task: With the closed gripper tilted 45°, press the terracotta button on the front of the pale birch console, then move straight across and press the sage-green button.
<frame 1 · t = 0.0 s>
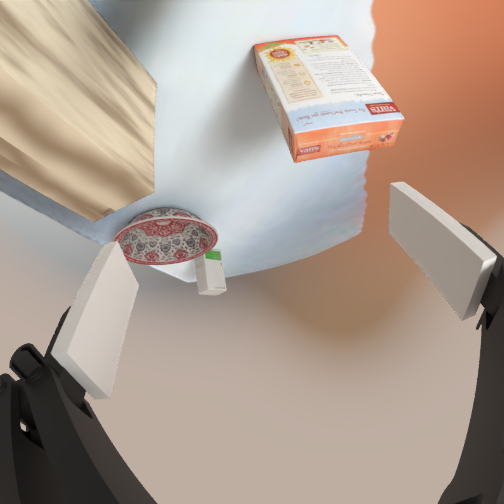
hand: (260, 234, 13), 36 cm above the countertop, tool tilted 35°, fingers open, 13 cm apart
skincare box: (206, 251, 107), on the countertop
console: (69, 32, 25), on the countertop
ceramic bowl: (163, 218, 79), on the countertop
cracker box: (297, 51, 38), on the countertop
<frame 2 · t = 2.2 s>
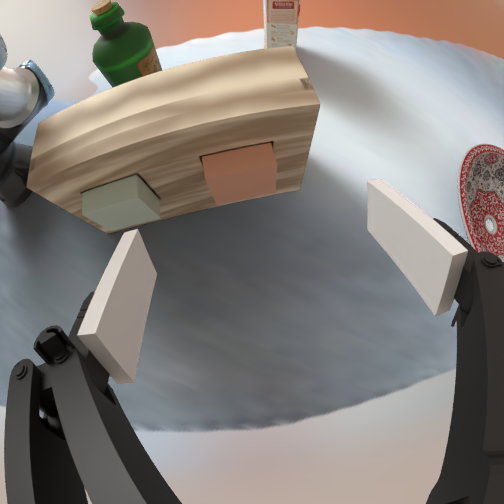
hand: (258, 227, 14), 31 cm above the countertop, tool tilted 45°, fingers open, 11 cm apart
terracotta button: (241, 175, 35), point 12 cm above the countertop, slide at 0.0 cm
sage button: (122, 205, 35), point 12 cm above the countertop, slide at 0.0 cm
console: (194, 184, 48), on the countertop
ceramic bowl: (488, 225, 44), on the countertop
bottle: (153, 106, 53), on the countertop
cracker box: (278, 60, 54), on the countertop
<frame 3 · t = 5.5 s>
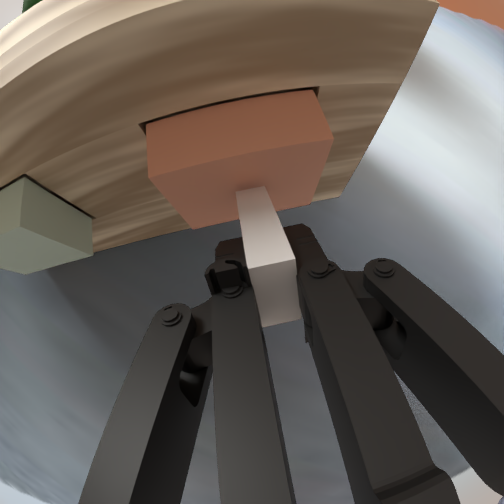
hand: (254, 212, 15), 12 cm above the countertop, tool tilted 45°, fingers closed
terracotta button: (242, 168, 16), point 12 cm above the countertop, slide at 0.1 cm, touching gripper
sage button: (23, 236, 16), point 12 cm above the countertop, slide at 0.0 cm
console: (164, 187, 29), on the countertop
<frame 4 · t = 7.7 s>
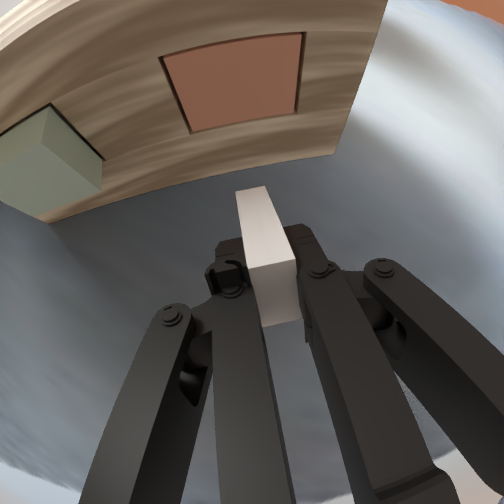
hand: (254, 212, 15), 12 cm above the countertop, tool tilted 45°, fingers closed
terracotta button: (235, 72, 17), point 12 cm above the countertop, slide at 3.1 cm
sage button: (37, 170, 17), point 12 cm above the countertop, slide at 0.0 cm
console: (169, 146, 30), on the countertop
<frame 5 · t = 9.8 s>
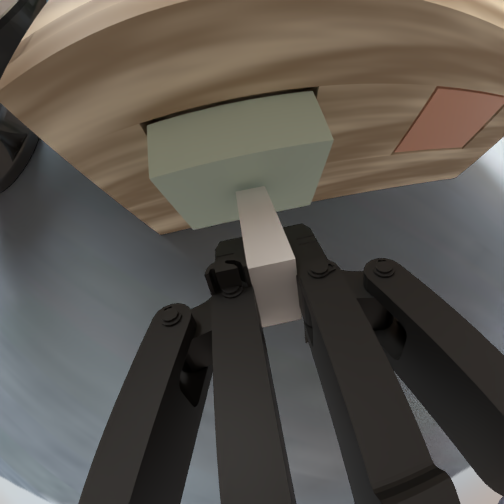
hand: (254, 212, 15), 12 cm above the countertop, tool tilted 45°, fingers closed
terracotta button: (444, 108, 16), point 12 cm above the countertop, slide at 3.1 cm
sage button: (242, 169, 16), point 12 cm above the countertop, slide at 0.0 cm, touching gripper
console: (315, 155, 29), on the countertop
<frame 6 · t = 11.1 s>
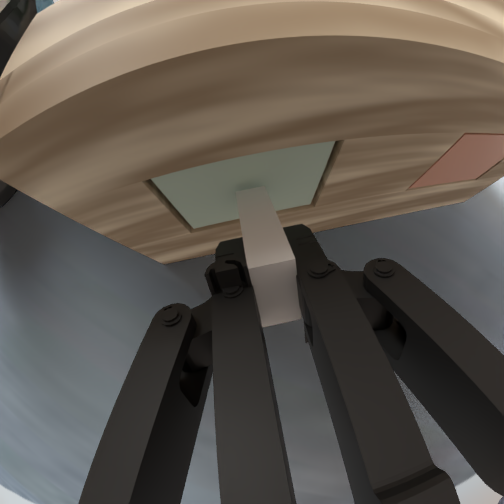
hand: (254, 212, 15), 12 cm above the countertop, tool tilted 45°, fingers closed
terracotta button: (463, 143, 16), point 12 cm above the countertop, slide at 3.1 cm
sage button: (243, 168, 16), point 12 cm above the countertop, slide at 3.2 cm, touching gripper
console: (324, 180, 28), on the countertop
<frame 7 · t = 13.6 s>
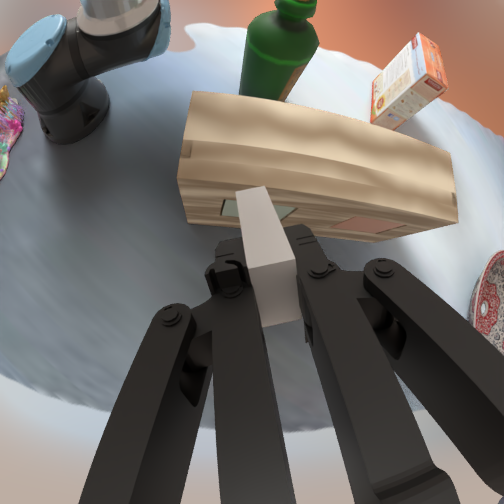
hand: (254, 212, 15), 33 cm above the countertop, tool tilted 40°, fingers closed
terracotta button: (366, 215, 39), point 12 cm above the countertop, slide at 3.1 cm
sage button: (256, 200, 37), point 12 cm above the countertop, slide at 3.1 cm
console: (290, 204, 50), on the countertop
ceramic bowl: (482, 308, 57), on the countertop
bottle: (260, 100, 51), on the countertop
cracker box: (381, 106, 57), on the countertop
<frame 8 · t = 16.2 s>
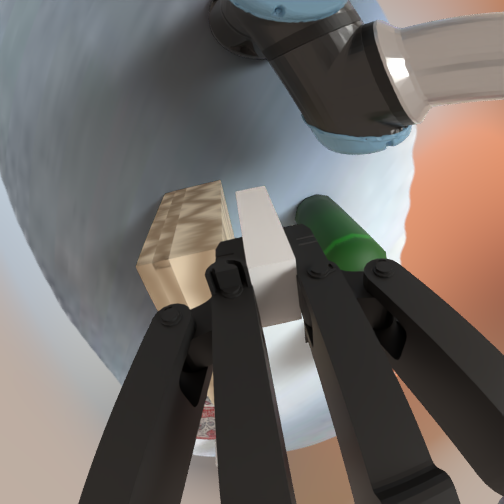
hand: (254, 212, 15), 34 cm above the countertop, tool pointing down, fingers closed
console: (215, 265, 58), on the countertop
ceramic bowl: (207, 404, 89), on the countertop
bottle: (315, 213, 55), on the countertop
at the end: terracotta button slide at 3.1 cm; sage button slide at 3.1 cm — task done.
